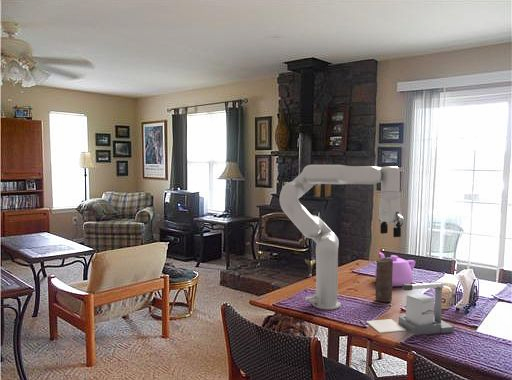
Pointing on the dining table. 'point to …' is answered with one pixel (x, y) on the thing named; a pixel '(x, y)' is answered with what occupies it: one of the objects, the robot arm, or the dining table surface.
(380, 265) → the brown rectangular block
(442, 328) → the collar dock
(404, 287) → the bar
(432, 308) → the supplement box
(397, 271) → the kettle
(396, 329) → the tile pad
